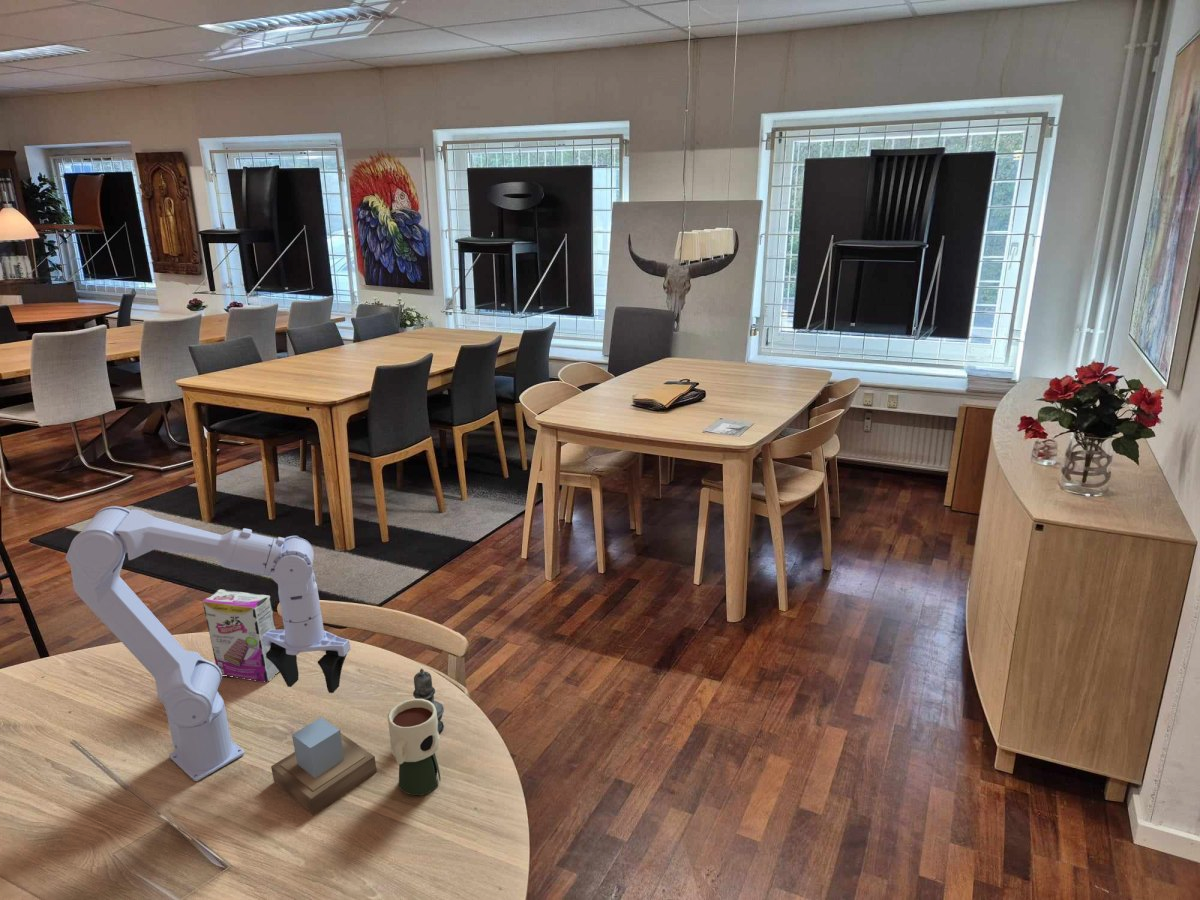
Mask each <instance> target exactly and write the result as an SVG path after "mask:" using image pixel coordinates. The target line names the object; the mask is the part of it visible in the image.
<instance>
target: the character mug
mask: <svg viewBox="0 0 1200 900" xmlns="http://www.w3.org/2000/svg"><path fill="white" fill-rule="evenodd" d="M387 722H388V729H389V730H388V732H389V738H390V739H389V740H390V745H391V748H390V749H391V753H392V755H393V757H395V761H396V764H397V765H399V766H398V788H399V789H400V790H401V791H402V792H404V793H406V794H408V795H411V796H413V795H414V796H423V795H425V794H429V793H431V792H432V791H433V790H435V789H436V788H437V786H438V782H437V777H438V779H439V782H441V771H440V767H439V763H438V760H437V757H436V756H437V755H436V752H437V751H438V750H439V746H440V742H441V741H440V740H441V738H440V734H439V733H438V730H437V729H438V719H437V711H436V708H435V705H434V704H433V703H431V702H430V701H428V700H425V699H415V698H411V699H407V700H403V701H402V702H399V703H398V704H396V705H395V706H394V707H392V708H391V709H390V710H389V713H388V715H387Z"/></svg>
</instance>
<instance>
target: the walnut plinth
mask: <svg viewBox="0 0 1200 900" xmlns="http://www.w3.org/2000/svg"><path fill="white" fill-rule="evenodd" d="M340 734H341V741H342V748H343V754H344V760H343V761H341V762H340V763H338V764H337V765H335V766H334V767H332V768H331V769H329V770H328V771H326V772H324V773H323V774H321V775H320V776H318V777H317V778H314V777H313V776H312V775H310V774H309V773H308V772H307V771H305V770H304V769H303V768H301V767H300V766H299V765H298V764H297V761H296V755H295V751H294V752H292V753H290V754H289V755H287V756H285V757H284V758H282V759H281V760H279V761H277V762H276V763H274V764H272V765H270V767H271V768H270V769H271V774H272V778H273V782H274V784H275V785H277V786H278V787H279V788H280V789H281V790H283V791H284V792H285V793H286V794H288V795H289V796H290V797H291V798H292V799H294V800H295V801H296V802H297V803H299V805H301V806H302V807H304V809H306V810H307V811H308V812H309V813H311V815H313V816H315V815H317V814H318V813H319V812H321V811H322V810H324V809H325V808H327V807H328V806H329V805H331V804H333V802H335V801H337V800H338V799H340V798H341V797H343V796H345V795H346V794H347V793H348V792H349V791H351V790H353V789H355V788H356V787H357V786H359V785H360V784H361V783H363V782H364V781H366V780H367V779H369V778H370V777H372V776H373V775H375V774H376V773H377V772H378V771H377V762H376V758H375V757H376V756H375V755H374V754H372V753H371V752H369V751H368V750H366V749H365V748H364V747H362V746H361V745H359V744H358V743H356V742H355V741H354V740H352V739H351V738H350V737H347V736H346V735H345V734H343V733H342V732H340Z"/></svg>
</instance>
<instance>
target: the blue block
mask: <svg viewBox="0 0 1200 900" xmlns="http://www.w3.org/2000/svg"><path fill="white" fill-rule="evenodd" d="M340 733H341V730H340V729H339V728H338V727H336V726H335V725H333V724H332V723H330V722H329V721H327V720H326V719H324V718H323V717H322V716H321V717H319V718H318V719H316V720H315V721H312V722H311V723H309V724H307V725H306V726H303V727H302V728H301V729H298V730H297V731H295V732H294V733H292V734H291V736H292V744H293V749H294V752H295V755H296V761H297V764H298V765H299V766H300V767H301V768H303V769H304V770H305V771H307V772H308V773H309V774H310V775H312V776H313V777H314V778H317V777H318V776H320V775H321V774H323V773H324V772H326V771H328V770H329V769H331V768H332V767H334V766H335V765H337V764H338V763H340V762H341V761H343V760H344V754H343V748H342V741H341V734H340Z"/></svg>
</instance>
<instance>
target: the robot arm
mask: <svg viewBox="0 0 1200 900" xmlns="http://www.w3.org/2000/svg"><path fill="white" fill-rule="evenodd" d="M154 550H163V551H166V552H167V551H168V552H175V553H183V554H189V555H194V556H195V555H197V556H201V557H202V556H203V557H210V558H215V559H216V560H217V561H218V563H219V564H220V565H221V566H222V568H226V569H231V570H235V571H236V570H237V571H241V572H244V573H245V572H246V573H252V574H255V575H256V574H257V575H261V576H265V577H271V579H272V580H273V581H274V583H276V584H277V587H278V591H277V594H278V599H279V606H280V611H281V618H282V623H283V629H276V630H272V629H270V630H269V631H268V632H266V633H265V634H264V635H263V641H264V646H271V647H270V650H269V651H268V652H267V653H266V657H267V659H269V660H270V661H271V662H272V663H273V664H274V665H275V666H276V668H277V669H278V670H279V673H280V675H281V676H282V678H283V680H284V682H285V684H286V686H287V687H288V688H289V687H290V688H292V687H293V686H294V685H295V684H296V683H297V682H298V681H299V667H298V662H297V661H298V660H297V658H298V657H297V656H298V655H300V653H308V652H325V654H323V656H322V657H320V659H318V660H317V665H319V667H320V669H321V670H322V673H323V675H324V679H325V685H326V688H327V689H326V690H327V691H328V693H329V694H334V692H336V690H338V688H339V687H340V682H341V674H342V670H343V666H344V662H345V660H346V657H347V655H348V654H349V652H350V651H351V644H350V643H351V642H350V639H348V638H344V637H341V636H338V635H336V634H334V633H331V632H329V631H327V630H325V629H324V622H323V616H322V610H321V609H322V608H321V601H320V596H319V590H318V584H317V582H316V575H315V572H314V567H313V563H314V559H315V558H314V557H315V552H314V548H313V545H312V544H311V543H310V542H309V541H308V540H307V539H304V538H302V537H299V535H290V536H286V537H281V536H278V537H277V538H276V537H275V538H274V537H269V536H266V535H262V534H261V535H260V534H256V533H253V530H252V529H250V528H245V527H244V528H242V530H237V529H234V530H231V531H230V532H229V531H228V532H226V533H225V534H219V533H215V532H212V531H208V530H205V529H201V528H196V527H194V526H189V525H186V524H182V523H178V522H175V521H172V520H171V521H170V520H167V519H163V518H159V517H157V516H154V515H151V514H150V513H147V512H146V511H143V510H141V509H140V510H139V509H131V510H130V509H128V508H125V507H123V506H118V505H117V506H116V505H112V506H106V507H104V508H101V509H100V510H98V511H97V512H96V513H95V514H94V515H93V517H92V518H91V520H90V521H89V522H88V523H87V525H85V527H84V528H83V529H82V530H81V531H80V532H79V533H78V534H76V535H75V537H74V538H72V541H71V542H70V545H69V549H68V551H67V553H66V555H65V558H64V559H65V561H66V562H67V564H69V566H70V571H71V573H70V574H71V579H72V585H73V587H72V588H73V591H74V592H75V594H76V595H77V596H78V597H79V598H80V600H81V601H82V602H83V603H85V605H86V606H87V607H88V608H89V609H90V610H91V612H93V613H94V615H96V616H97V618H98V619H99V620H100V621H101V622H102V623H103V624H104V625H105V626H106V627H107V628H108V630H109V631H110V632H111V633H112V634H113V635H114V636H115V637H116V638H117V640H119V641H120V643H122V644H123V646H124V647H125V648H126V649H127V650H128V651H129V652H130V653H131V654H132V655H133V656H134V657H135V658H136V660H137V661H139V663H140V664H141V665H142V666H143V667H144V668H145V669H146V670H147V672H149V674H151V676H152V677H153V678H154V681H155V686H156V694H157V698H158V700H159V701H160V702H161V703H162V704H163V706H164V708H165V713H166V717H167V719H168V720H167V721H168V722H167V723H168V728H169V732H170V736H171V741H172V743H173V749H174V751H172V752H171V753H169V755H168V757H169V759H170V760H171V761H173V763H175V764H176V765H177V766H178V767H179V768H180V769H181V770H182V771H183V772H185V773H186V774H187V775H188V777H190V779H191V780H193V781H194V782H198V781H200V780H202V779H204V778H205V777H207V776H209V775H210V774H212V773H214V772H216V771H218V770H220V769H221V768H223V767H225V766H226V765H228V764H230V763H231V762H233V761H235V760H237V759H239V758H241V757H242V756H243V755H244V754H245V750H244V749H243V748H241V746H239V745H238V744H237V743H235V741H233V739H232V735H231V730H230V726H229V721H228V717H227V711H226V706H225V701H224V698H223V697H222V695H221V694H220V693H219V691H218V689H219V686H220V685H221V682H222V680H223V676H222V672H221V670H220V668H219V667H218V666H217V665H216V663H215V662H213V661H210V660H207V659H205V658H204V657H202V656H201V654H200V653H199V652H198V651H194V650H193V651H191V650H189V651H188V650H186V649H185V648H184V647H183V646H182V645H181V644H180V643H179V642H178V640H177V639H176V638H175V636H173V634H172V633H171V632H170V631H169V630H168V629H167V628H166V626H165V625H164V624H162V622H161V621H160V620H159V619H158V618H157V617H156V615H154V613H153V612H152V611H151V610H150V608H148V607H147V606H146V604H145V603H144V602H143V601H142V600H141V598H140V597H138V595H137V594H136V593H135V592H134V591H133V590H132V588H130V586H129V585H128V584H127V582H125V580H124V579H123V578H122V577H121V571H122V567H123V564H124V561H125V558H126V557H125V556H126V554H127V557H128V558H127V559H128V561H132V560H134V559H137V558H139V557H140V556H143V555H145V554H147V553H150V552H151V551H154Z"/></svg>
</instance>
